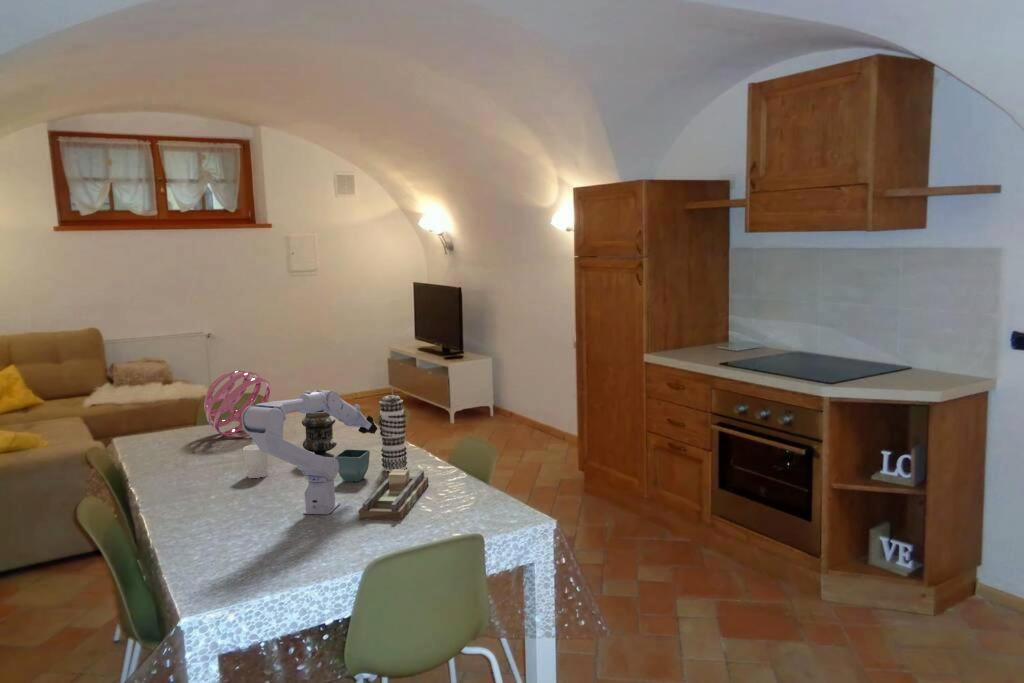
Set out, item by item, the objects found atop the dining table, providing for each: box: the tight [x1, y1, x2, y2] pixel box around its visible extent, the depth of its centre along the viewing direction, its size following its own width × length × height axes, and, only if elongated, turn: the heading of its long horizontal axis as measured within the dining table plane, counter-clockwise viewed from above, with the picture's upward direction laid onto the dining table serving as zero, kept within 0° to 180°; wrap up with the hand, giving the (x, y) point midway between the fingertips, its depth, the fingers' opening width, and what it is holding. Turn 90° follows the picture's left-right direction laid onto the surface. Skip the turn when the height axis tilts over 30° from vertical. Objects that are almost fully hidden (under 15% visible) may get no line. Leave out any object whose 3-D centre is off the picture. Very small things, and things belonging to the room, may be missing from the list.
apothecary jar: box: [301, 410, 338, 458], centre depth 279 cm, size 12×12×18 cm
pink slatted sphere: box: [203, 369, 272, 439], centre depth 318 cm, size 28×28×27 cm
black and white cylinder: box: [378, 394, 408, 473], centre depth 263 cm, size 9×9×25 cm
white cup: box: [242, 443, 269, 479], centre depth 261 cm, size 8×8×10 cm
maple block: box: [388, 469, 411, 491], centre depth 235 cm, size 5×5×5 cm
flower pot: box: [334, 448, 371, 483], centre depth 253 cm, size 9×9×9 cm
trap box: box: [358, 470, 429, 521], centre depth 231 cm, size 32×12×4 cm, turn 172°
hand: (366, 426), depth 245 cm, fingers open, 7 cm apart
